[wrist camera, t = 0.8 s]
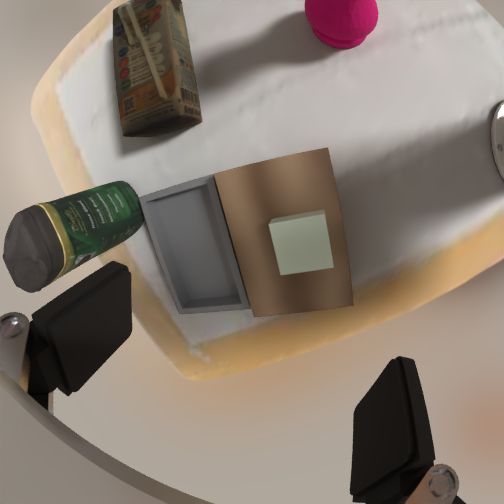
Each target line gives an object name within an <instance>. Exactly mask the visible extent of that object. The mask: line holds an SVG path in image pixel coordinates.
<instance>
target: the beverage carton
mask: <svg viewBox="0 0 504 504" xmlns="http://www.w3.org/2000/svg"><path fill="white" fill-rule="evenodd" d="M113 49H114V67H115V79H116V89H117V97H118V105H119V113H120V120H121V126H122V131H123V136H125V137H153V136H157V135H160V134H164V133H167V132H171V131H174V130H178V129H181V128H184V127H188V126H191V125H195V124H198V123H201V122H202V117H201V109H200V103H199V97H198V91H197V85H196V80H195V74H194V69H193V63H192V57H191V52H190V46H189V40H188V34H187V28H186V22H185V18H184V14H183V8H182V2H181V0H130V1H128V2H126V3H124V4H122V5H120V6H118V7H117V8H115V9H114V10H113Z"/></svg>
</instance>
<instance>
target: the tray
mask: <svg viewBox="0 0 504 504" xmlns="http://www.w3.org/2000/svg"><path fill="white" fill-rule="evenodd" d="M139 200H140V203H141V207H142V210H143V213H144V217H145V220H146V223H147V226H148V229H149V232H150V235H151V239H152V242H153V245H154V247H155V250H156V253H157V256H158V259H159V262H160V265H161V268H162V270H163V273H164V276H165V279H166V281H167V284H168V287H169V289H170V292H171V294H172V297H173V300H174V302H175V305H176V307H177V310H178V312H179V314H191V313H206V312H219V311H231V310H242V309H250V308H251V305H250V301H249V298H248V294H247V291H246V287H245V284H244V280H243V277H242V273H241V270H240V266H239V263H238V259H237V256H236V252H235V249H234V245H233V242H232V238H231V234H230V231H229V227H228V224H227V220H226V216H225V213H224V209H223V205H222V202H221V198H220V194H219V191H218V187H217V183H216V180H215V176H214V174H212V175H209V176H205V177H202V178H198V179H195V180H192V181H188V182H185V183H182V184H179V185H175V186H172V187H169V188H166V189H163V190H160V191H157V192H154V193H151V194H148V195H145V196H142V197H139Z"/></svg>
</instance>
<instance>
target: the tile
mask: <svg viewBox="0 0 504 504" xmlns="http://www.w3.org/2000/svg"><path fill="white" fill-rule="evenodd" d="M269 228H270V232H271V237H272V241H273V245H274V249H275V253H276V258H277V262H278V266H279V270H280V275H287V274H294V273H301V272H308V271H314V270H321V269H328V268H334V265H333V256H332V250H331V244H330V238H329V232H328V227H327V221H326V216H325V211H324V209H323V210H318V211H312V212H306V213H301V214H295V215H290V216H285V217H279V218H274V219H272V220H271V221H270V223H269Z"/></svg>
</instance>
